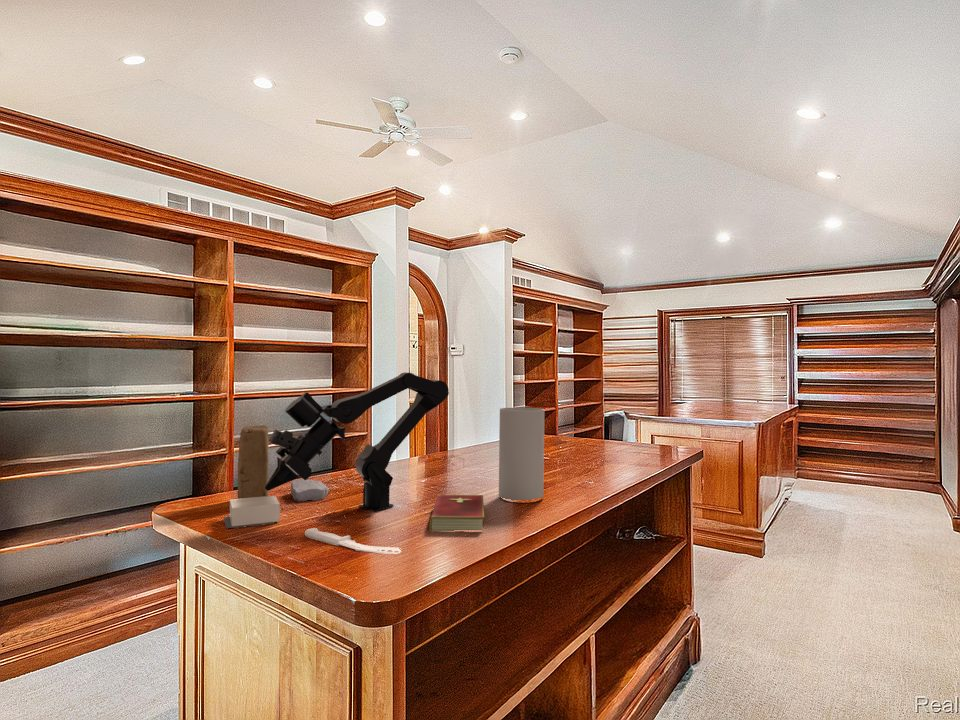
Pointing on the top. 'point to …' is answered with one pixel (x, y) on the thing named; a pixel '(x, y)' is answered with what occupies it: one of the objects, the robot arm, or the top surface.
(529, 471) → the cylinder vase
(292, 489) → the stone block
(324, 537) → the knife
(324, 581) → the top surface
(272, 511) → the off-white thick block
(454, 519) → the hardcover book
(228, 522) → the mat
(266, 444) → the block
